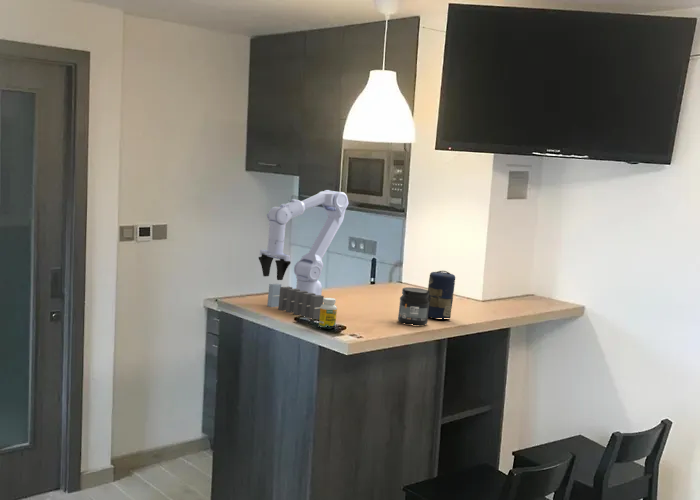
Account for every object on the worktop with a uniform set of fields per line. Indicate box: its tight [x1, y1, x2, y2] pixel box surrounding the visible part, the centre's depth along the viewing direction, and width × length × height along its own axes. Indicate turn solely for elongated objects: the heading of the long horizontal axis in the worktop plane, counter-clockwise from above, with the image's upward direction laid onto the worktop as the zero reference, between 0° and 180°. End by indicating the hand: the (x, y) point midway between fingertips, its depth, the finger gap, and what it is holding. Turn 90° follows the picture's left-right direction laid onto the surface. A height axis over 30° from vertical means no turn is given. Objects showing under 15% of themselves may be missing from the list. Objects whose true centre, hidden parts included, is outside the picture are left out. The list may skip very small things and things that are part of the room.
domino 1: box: [267, 283, 282, 308], centre depth 273 cm, size 2×4×8 cm, turn 135°
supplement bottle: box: [318, 297, 338, 327], centre depth 245 cm, size 5×5×10 cm
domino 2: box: [277, 286, 293, 311], centre depth 269 cm, size 2×4×8 cm, turn 136°
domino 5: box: [300, 293, 316, 318], centre depth 260 cm, size 2×4×8 cm, turn 135°
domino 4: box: [293, 291, 308, 316], centre depth 263 cm, size 2×4×8 cm, turn 136°
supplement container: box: [397, 286, 430, 326], centre depth 267 cm, size 10×10×12 cm
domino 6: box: [308, 294, 325, 320], centre depth 258 cm, size 2×4×8 cm, turn 135°
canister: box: [427, 270, 456, 319], centre depth 280 cm, size 10×10×18 cm
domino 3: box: [285, 288, 300, 314], centre depth 266 cm, size 2×4×8 cm, turn 135°
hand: (272, 278), depth 273 cm, fingers open, 7 cm apart
